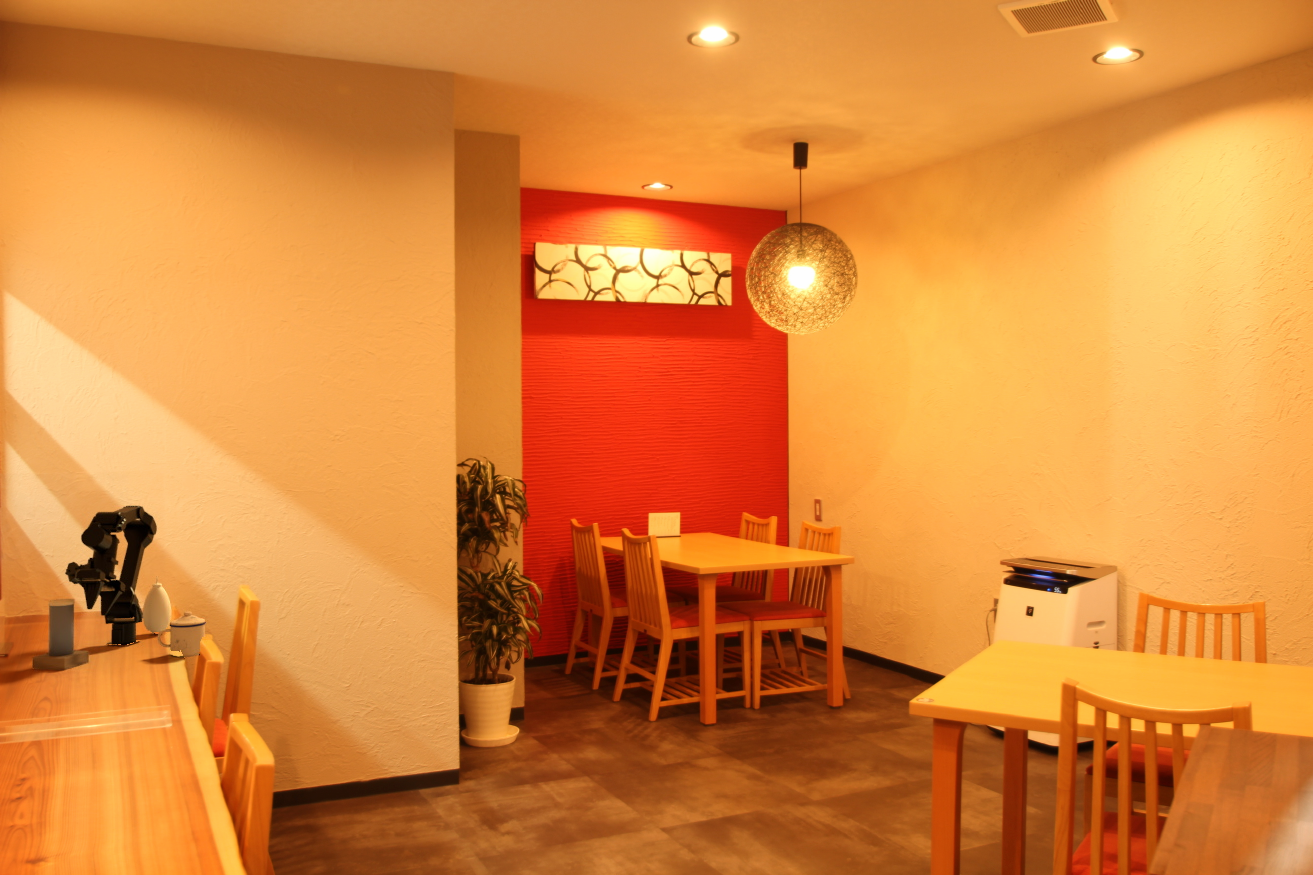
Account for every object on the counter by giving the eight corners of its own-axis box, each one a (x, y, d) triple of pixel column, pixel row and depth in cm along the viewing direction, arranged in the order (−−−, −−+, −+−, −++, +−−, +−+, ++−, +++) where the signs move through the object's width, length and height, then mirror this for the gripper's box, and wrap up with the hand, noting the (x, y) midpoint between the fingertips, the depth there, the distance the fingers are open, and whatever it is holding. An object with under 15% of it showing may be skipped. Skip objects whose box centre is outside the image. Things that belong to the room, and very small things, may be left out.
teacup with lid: (204, 649, 280) (204, 608, 280) (206, 655, 272) (206, 613, 272) (157, 653, 274) (157, 611, 274) (157, 659, 266) (157, 616, 266)
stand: (57, 661, 264) (57, 649, 264) (88, 662, 263) (88, 650, 263) (32, 668, 255) (32, 657, 255) (64, 669, 254) (64, 658, 254)
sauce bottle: (143, 632, 303) (143, 574, 303) (171, 630, 306) (171, 572, 306) (141, 637, 296) (142, 577, 296) (170, 635, 299) (171, 576, 299)
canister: (66, 650, 263) (67, 597, 263) (78, 653, 260) (78, 599, 260) (43, 654, 258) (44, 600, 258) (55, 657, 255) (55, 602, 255)
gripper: (87, 564, 280) (79, 619, 274) (58, 548, 262) (49, 606, 257) (129, 563, 281) (121, 618, 276) (103, 547, 264) (94, 605, 258)
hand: (96, 612), depth 267 cm, fingers open, 9 cm apart
